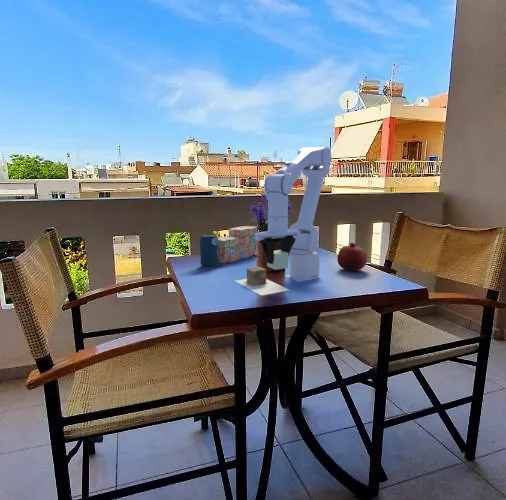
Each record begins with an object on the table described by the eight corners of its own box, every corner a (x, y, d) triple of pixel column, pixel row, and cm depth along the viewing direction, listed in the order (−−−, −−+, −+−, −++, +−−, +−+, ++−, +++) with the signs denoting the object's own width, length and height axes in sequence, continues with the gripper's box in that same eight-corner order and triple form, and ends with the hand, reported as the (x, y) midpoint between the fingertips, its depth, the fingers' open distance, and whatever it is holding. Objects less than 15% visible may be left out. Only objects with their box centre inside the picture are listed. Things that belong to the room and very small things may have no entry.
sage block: (279, 264, 114) (279, 249, 113) (288, 267, 110) (288, 252, 109) (267, 266, 112) (267, 251, 111) (275, 269, 108) (275, 254, 107)
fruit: (331, 267, 138) (332, 241, 136) (354, 265, 141) (356, 239, 139) (347, 275, 128) (348, 247, 126) (371, 273, 131) (373, 245, 129)
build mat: (260, 277, 126) (260, 276, 126) (290, 291, 112) (290, 289, 112) (234, 281, 121) (234, 280, 121) (261, 296, 107) (261, 295, 107)
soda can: (222, 267, 140) (221, 235, 137) (206, 269, 136) (205, 237, 134) (213, 263, 146) (212, 233, 143) (197, 265, 142) (196, 234, 139)
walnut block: (258, 279, 122) (258, 266, 121) (266, 283, 118) (266, 269, 117) (246, 281, 120) (246, 268, 119) (253, 285, 116) (253, 271, 115)
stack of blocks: (224, 264, 145) (224, 232, 142) (213, 261, 149) (212, 231, 146) (258, 254, 161) (258, 226, 158) (247, 252, 165) (247, 225, 162)
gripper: (290, 213, 115) (289, 256, 117) (249, 216, 107) (249, 262, 110) (304, 215, 109) (303, 261, 111) (261, 219, 101) (261, 267, 104)
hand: (277, 262), depth 110 cm, fingers closed on sage block, 4 cm apart
